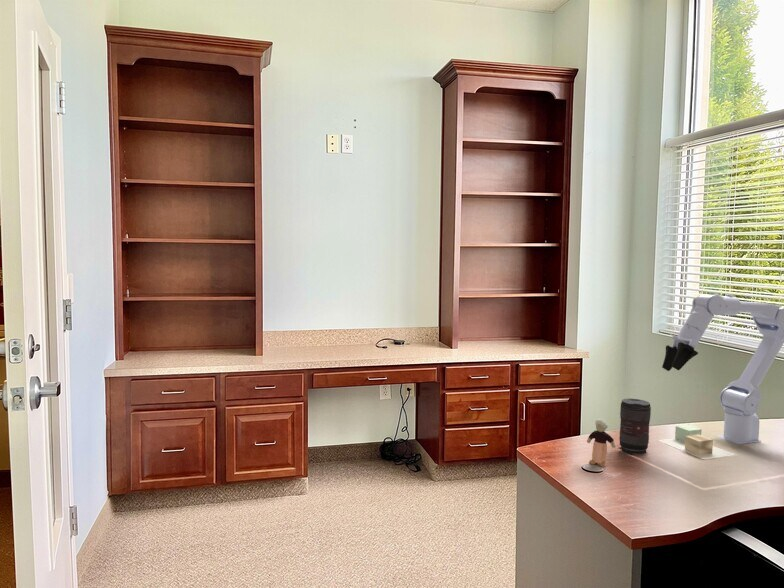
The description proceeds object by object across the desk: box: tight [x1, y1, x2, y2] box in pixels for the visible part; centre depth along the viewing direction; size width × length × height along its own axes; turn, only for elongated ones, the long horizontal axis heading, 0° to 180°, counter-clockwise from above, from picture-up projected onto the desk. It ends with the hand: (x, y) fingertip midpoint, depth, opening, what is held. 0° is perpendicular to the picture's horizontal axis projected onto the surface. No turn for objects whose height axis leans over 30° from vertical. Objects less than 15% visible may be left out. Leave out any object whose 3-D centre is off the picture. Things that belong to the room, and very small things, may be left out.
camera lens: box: [619, 398, 652, 456], centre depth 167 cm, size 8×8×15 cm
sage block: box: [674, 424, 702, 442], centre depth 176 cm, size 5×5×4 cm
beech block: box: [685, 434, 714, 455], centre depth 166 cm, size 5×5×4 cm
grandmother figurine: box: [586, 418, 617, 467], centre depth 157 cm, size 8×4×13 cm, turn 62°
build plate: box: [657, 437, 736, 461], centre depth 170 cm, size 12×17×1 cm
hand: (670, 368), depth 169 cm, fingers open, 7 cm apart
